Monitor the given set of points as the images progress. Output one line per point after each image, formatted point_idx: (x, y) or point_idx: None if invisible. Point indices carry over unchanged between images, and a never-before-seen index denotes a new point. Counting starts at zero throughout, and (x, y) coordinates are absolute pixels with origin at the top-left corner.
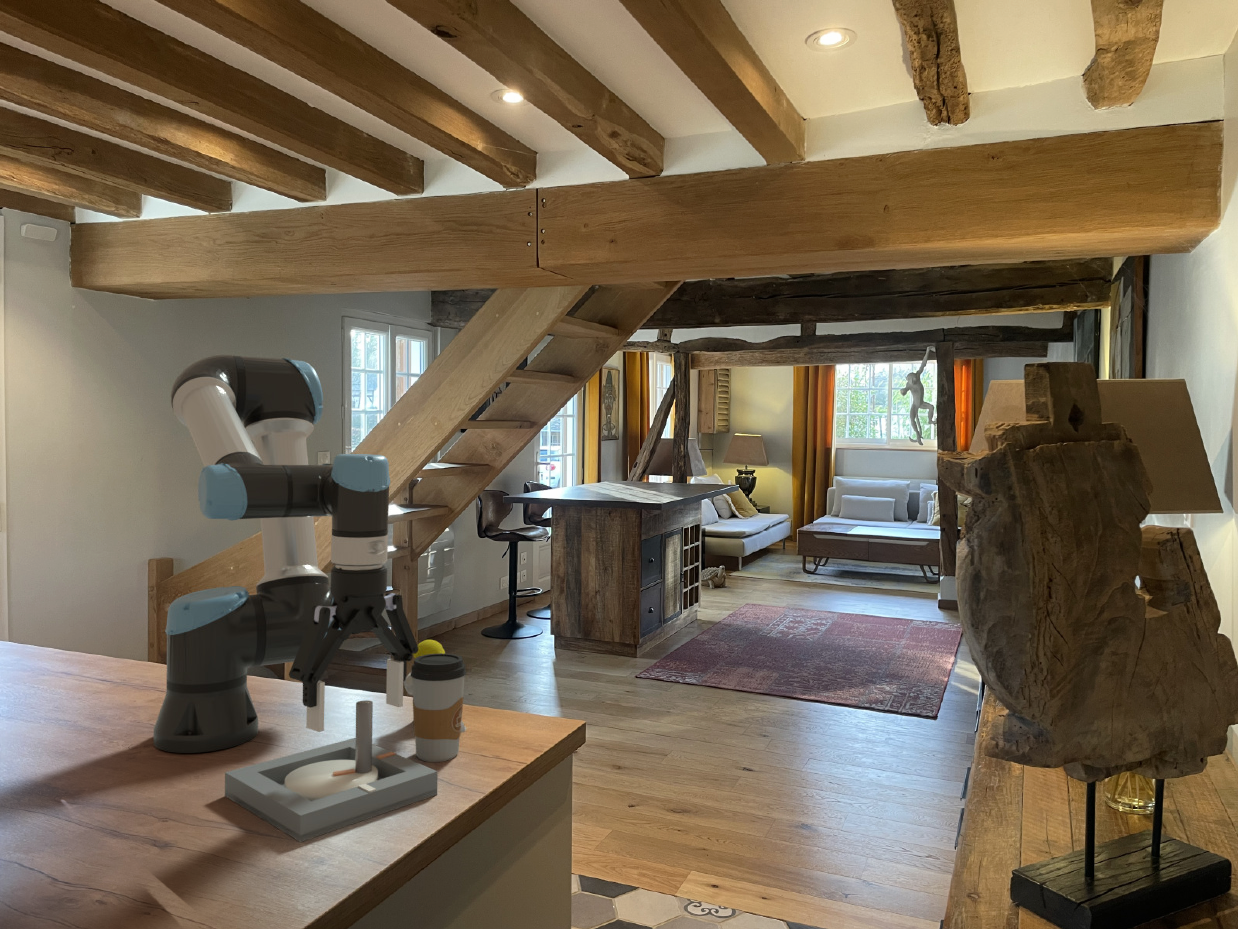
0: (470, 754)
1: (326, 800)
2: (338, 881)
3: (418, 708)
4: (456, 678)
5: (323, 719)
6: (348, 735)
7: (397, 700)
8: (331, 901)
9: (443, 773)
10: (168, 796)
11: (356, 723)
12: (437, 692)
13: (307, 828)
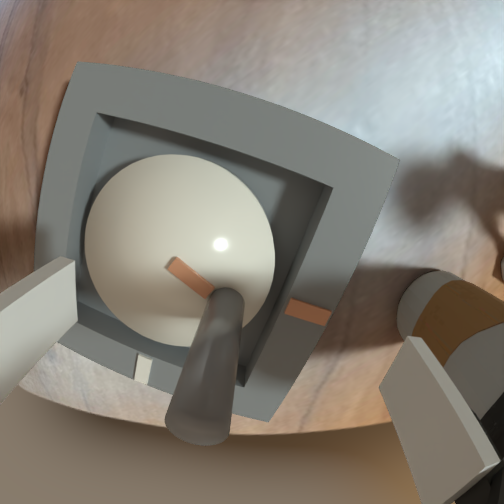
0: None
1: (77, 335)
2: (47, 385)
3: (447, 359)
4: None
5: (57, 338)
6: (465, 74)
7: (387, 397)
8: (33, 391)
9: (357, 359)
10: (80, 11)
11: (183, 367)
12: None
13: None
